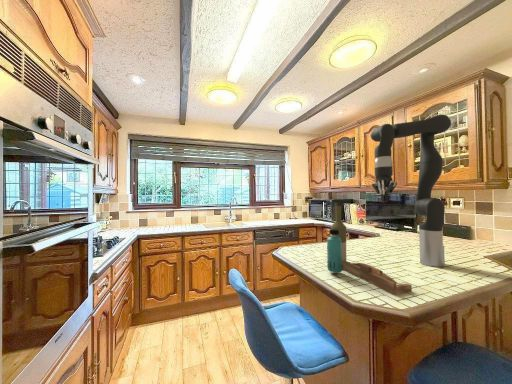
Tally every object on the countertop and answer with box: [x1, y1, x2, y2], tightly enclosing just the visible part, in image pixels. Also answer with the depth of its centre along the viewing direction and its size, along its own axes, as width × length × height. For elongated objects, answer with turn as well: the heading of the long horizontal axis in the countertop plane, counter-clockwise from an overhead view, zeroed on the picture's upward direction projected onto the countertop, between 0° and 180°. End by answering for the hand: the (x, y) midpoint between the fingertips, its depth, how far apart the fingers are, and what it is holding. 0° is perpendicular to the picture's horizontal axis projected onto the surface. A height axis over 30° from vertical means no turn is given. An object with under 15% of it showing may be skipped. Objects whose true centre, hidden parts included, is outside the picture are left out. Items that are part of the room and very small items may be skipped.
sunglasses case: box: [357, 262, 399, 285], centre depth 94 cm, size 18×7×7 cm
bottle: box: [330, 205, 347, 269], centre depth 108 cm, size 7×7×30 cm
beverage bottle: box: [326, 228, 343, 274], centre depth 98 cm, size 6×7×20 cm
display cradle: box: [342, 260, 413, 296], centre depth 91 cm, size 8×28×6 cm, turn 14°
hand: (384, 202), depth 105 cm, fingers closed
